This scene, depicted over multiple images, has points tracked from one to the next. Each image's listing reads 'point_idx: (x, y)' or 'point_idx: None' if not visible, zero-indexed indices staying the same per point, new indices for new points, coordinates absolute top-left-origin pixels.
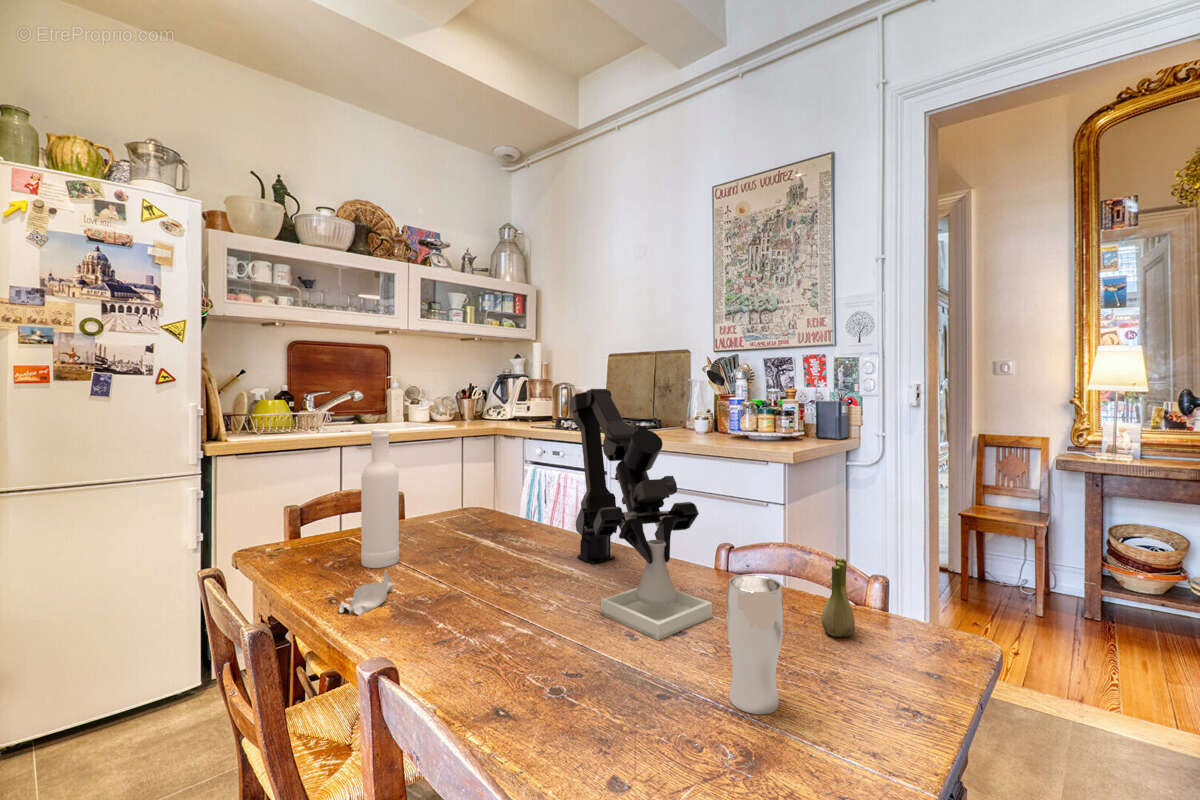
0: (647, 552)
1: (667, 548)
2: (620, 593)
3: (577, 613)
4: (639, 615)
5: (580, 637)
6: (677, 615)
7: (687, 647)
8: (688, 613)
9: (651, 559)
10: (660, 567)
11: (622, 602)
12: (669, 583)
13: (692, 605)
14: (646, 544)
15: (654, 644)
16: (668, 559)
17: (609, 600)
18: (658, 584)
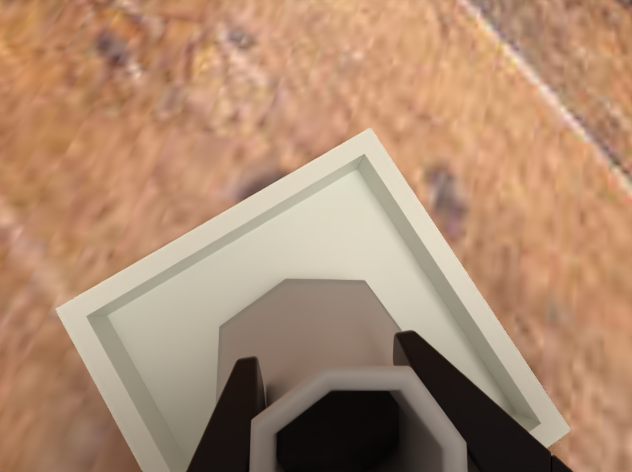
0: (453, 377)
1: (231, 433)
2: None
3: (628, 433)
4: (427, 223)
5: (618, 218)
6: (268, 197)
7: (278, 90)
8: (211, 219)
9: (406, 338)
10: (318, 343)
11: None
12: (257, 332)
13: (136, 381)
14: (484, 441)
15: (380, 128)
16: (248, 357)
17: (533, 411)
18: (332, 306)
